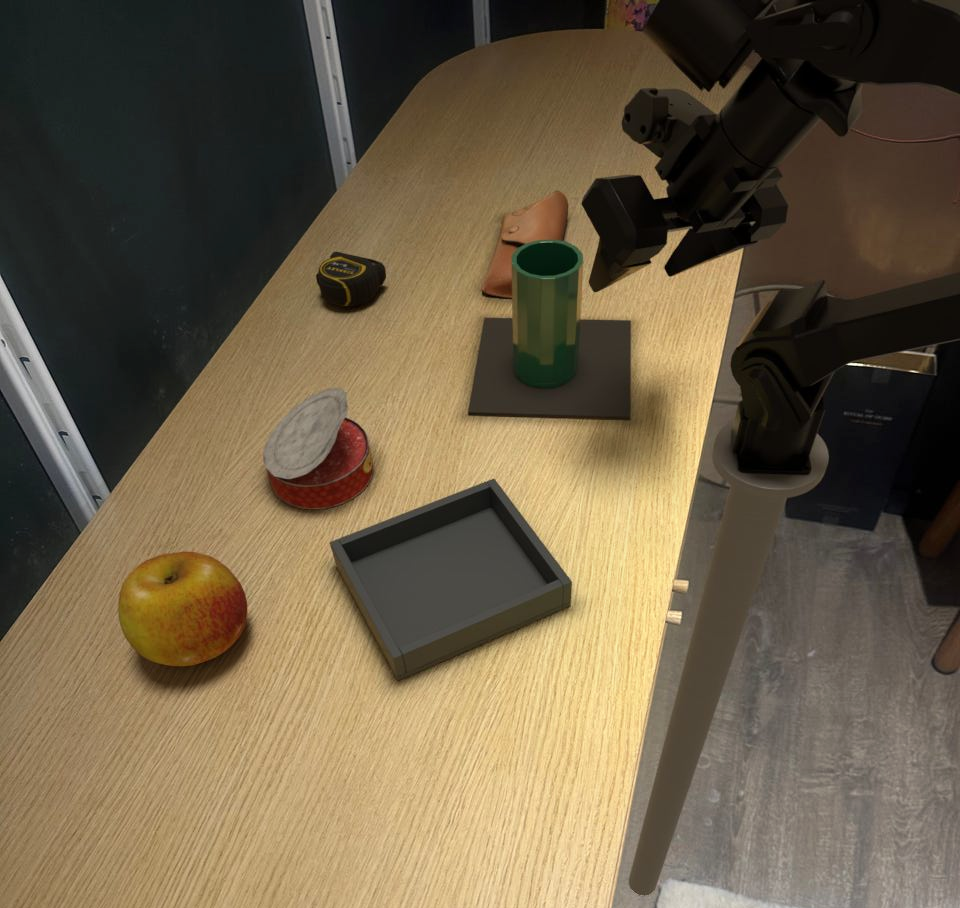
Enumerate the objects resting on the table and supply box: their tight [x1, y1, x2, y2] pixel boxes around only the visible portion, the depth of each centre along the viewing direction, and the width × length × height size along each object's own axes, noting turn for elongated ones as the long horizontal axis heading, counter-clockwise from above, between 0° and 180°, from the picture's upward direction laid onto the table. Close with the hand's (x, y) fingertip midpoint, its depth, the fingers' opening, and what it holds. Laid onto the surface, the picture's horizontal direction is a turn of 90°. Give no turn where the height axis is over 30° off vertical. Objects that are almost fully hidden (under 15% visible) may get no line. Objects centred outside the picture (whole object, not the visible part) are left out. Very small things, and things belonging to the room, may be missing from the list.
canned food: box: [262, 386, 375, 510], centre depth 79 cm, size 11×10×10 cm
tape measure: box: [315, 251, 387, 307], centre depth 97 cm, size 7×7×4 cm
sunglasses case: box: [480, 190, 570, 300], centre depth 100 cm, size 18×7×7 cm, turn 171°
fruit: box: [117, 551, 248, 667], centre depth 67 cm, size 10×9×8 cm
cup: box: [511, 239, 584, 388], centre depth 83 cm, size 7×7×12 cm
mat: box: [467, 317, 632, 421], centre depth 89 cm, size 16×16×1 cm
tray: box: [329, 478, 573, 682], centre depth 71 cm, size 16×14×3 cm
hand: (631, 279), depth 74 cm, fingers open, 9 cm apart
